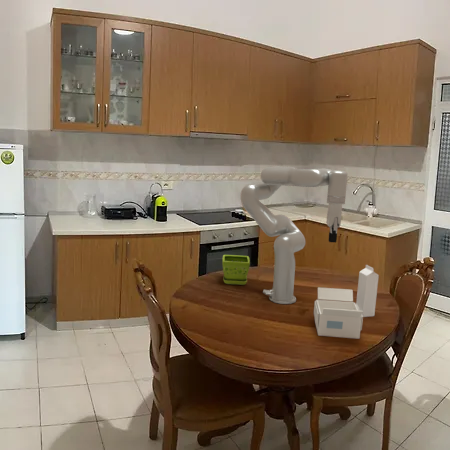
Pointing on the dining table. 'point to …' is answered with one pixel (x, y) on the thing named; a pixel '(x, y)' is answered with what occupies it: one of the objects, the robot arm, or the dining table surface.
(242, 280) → the flower pot
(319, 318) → the carton
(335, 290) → the flap far
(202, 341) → the dining table surface
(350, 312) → the flap near
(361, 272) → the milk
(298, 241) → the robot arm
